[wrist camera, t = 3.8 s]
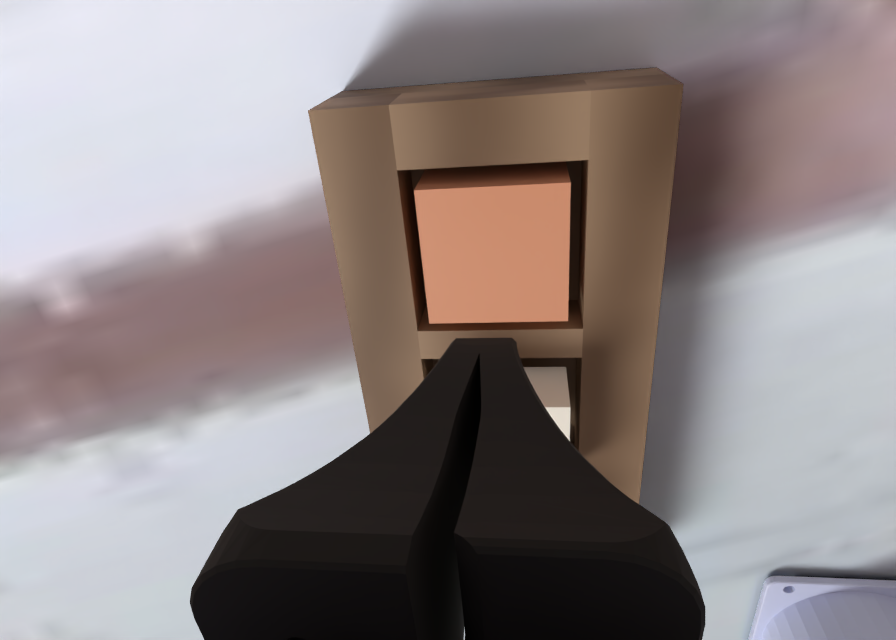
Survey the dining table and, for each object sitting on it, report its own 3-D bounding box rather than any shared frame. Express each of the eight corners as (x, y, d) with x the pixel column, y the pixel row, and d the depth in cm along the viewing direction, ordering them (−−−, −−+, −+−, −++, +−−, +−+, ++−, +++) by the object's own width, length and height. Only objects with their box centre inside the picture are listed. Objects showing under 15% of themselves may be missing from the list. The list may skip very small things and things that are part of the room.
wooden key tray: (656, 67, 18) (683, 84, 15) (615, 551, 29) (626, 618, 26) (341, 91, 19) (308, 110, 16) (415, 544, 30) (403, 606, 27)
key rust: (565, 161, 18) (570, 182, 16) (563, 289, 20) (568, 321, 18) (425, 169, 19) (413, 190, 17) (437, 292, 21) (429, 323, 19)
